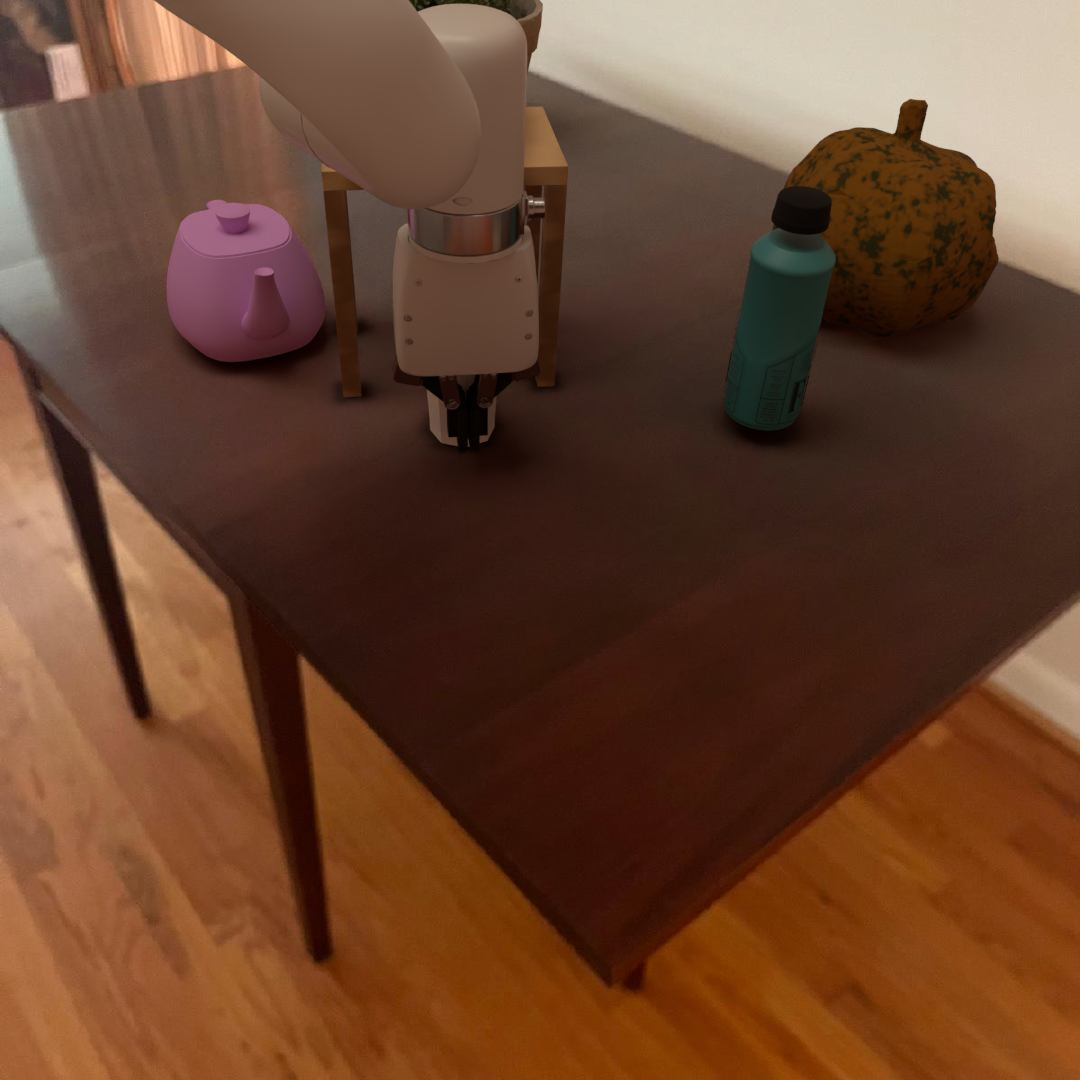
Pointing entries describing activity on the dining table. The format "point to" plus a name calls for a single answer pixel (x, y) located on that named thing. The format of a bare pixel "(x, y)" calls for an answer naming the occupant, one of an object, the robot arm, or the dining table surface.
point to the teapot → (242, 283)
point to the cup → (440, 414)
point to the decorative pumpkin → (901, 225)
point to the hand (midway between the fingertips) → (467, 441)
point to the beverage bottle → (781, 313)
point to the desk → (539, 170)
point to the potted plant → (518, 3)
